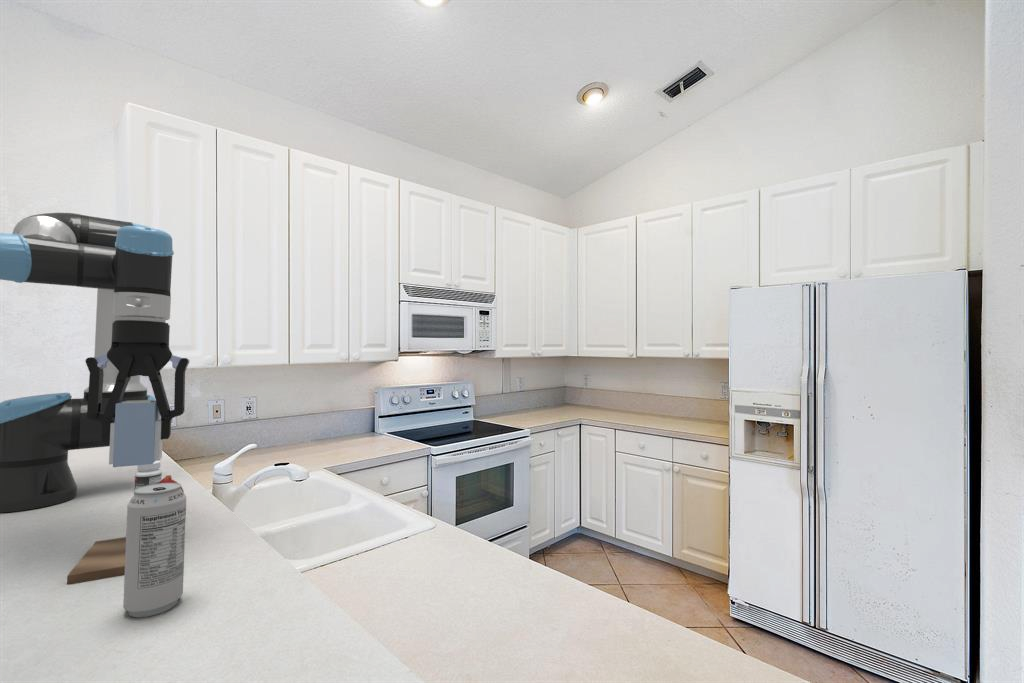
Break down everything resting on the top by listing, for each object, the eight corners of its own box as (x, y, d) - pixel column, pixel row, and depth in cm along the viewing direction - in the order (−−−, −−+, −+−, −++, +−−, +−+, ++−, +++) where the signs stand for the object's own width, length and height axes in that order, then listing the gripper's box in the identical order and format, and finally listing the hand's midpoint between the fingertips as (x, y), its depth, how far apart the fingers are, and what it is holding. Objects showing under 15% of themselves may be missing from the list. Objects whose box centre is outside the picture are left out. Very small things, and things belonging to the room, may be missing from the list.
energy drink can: (174, 590, 63) (178, 479, 64) (189, 605, 59) (193, 486, 60) (117, 608, 59) (122, 488, 59) (129, 625, 55) (134, 497, 55)
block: (120, 461, 78) (123, 400, 78) (157, 458, 80) (160, 399, 80) (112, 467, 73) (115, 402, 74) (152, 464, 76) (155, 401, 76)
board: (95, 548, 77) (95, 541, 77) (176, 536, 82) (177, 529, 82) (66, 584, 65) (67, 575, 65) (164, 567, 70) (165, 559, 70)
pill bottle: (128, 502, 102) (129, 463, 102) (150, 496, 106) (152, 459, 106) (143, 504, 100) (145, 465, 101) (165, 498, 105) (167, 461, 105)
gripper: (61, 315, 70) (54, 471, 69) (204, 321, 79) (199, 459, 78) (77, 319, 76) (70, 462, 75) (207, 324, 85) (203, 452, 84)
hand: (136, 460), depth 77 cm, fingers closed on block, 5 cm apart
